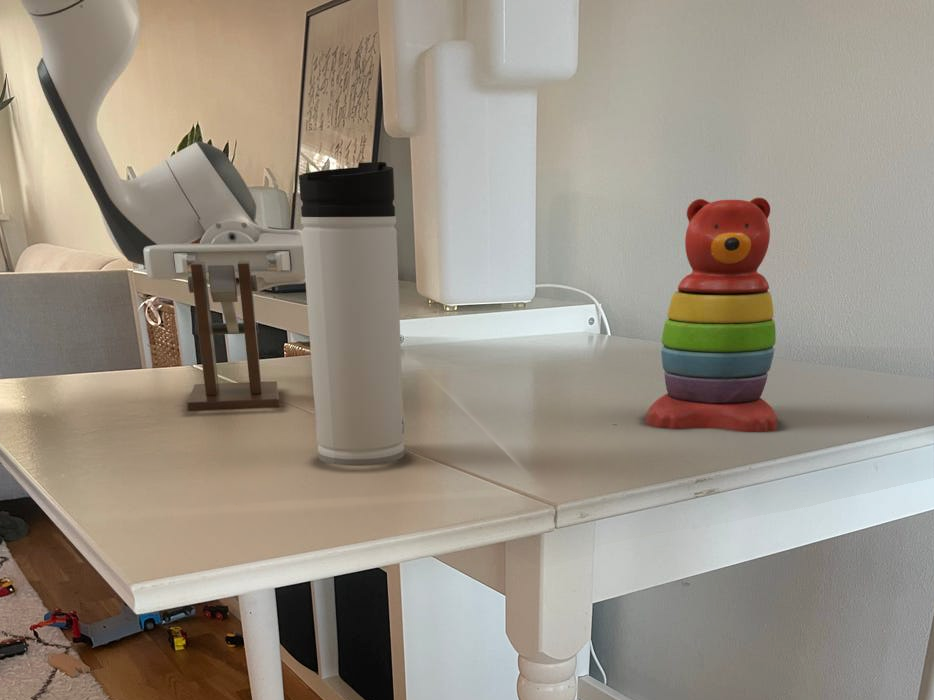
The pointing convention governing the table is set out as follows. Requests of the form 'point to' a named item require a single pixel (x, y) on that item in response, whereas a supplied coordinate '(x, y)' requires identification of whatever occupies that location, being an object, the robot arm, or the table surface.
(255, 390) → the brown wooden stand
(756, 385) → the stacking bear
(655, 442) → the table surface
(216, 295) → the lever
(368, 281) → the travel mug
